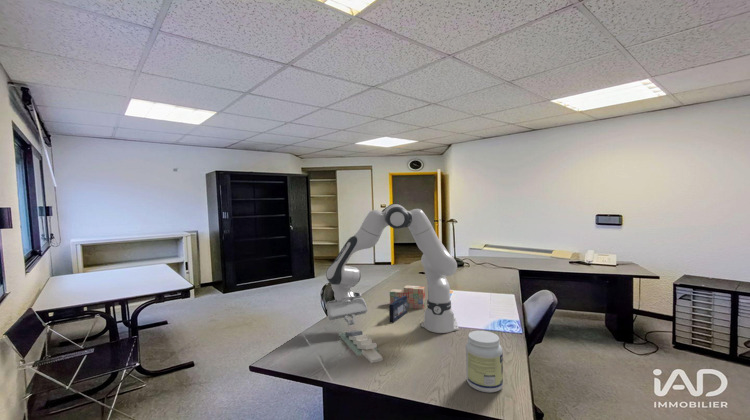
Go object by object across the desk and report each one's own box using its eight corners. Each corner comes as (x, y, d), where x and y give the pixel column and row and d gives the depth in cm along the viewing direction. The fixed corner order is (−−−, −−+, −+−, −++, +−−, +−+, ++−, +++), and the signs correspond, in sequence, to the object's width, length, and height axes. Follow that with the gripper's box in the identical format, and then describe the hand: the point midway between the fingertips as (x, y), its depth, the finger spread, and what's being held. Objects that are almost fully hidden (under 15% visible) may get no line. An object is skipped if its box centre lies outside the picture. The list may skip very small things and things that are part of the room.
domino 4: (357, 344, 140) (365, 345, 132) (367, 342, 142) (376, 343, 134) (357, 348, 140) (365, 349, 131) (367, 346, 142) (376, 347, 133)
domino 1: (345, 332, 154) (352, 333, 145) (354, 330, 156) (362, 330, 147) (345, 335, 153) (352, 336, 145) (355, 333, 156) (362, 334, 147)
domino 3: (352, 340, 145) (360, 341, 136) (362, 338, 147) (371, 338, 138) (353, 344, 144) (361, 345, 136) (363, 342, 146) (371, 342, 138)
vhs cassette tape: (393, 323, 170) (392, 305, 170) (388, 322, 171) (388, 304, 171) (408, 313, 185) (407, 296, 185) (403, 312, 187) (403, 295, 187)
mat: (338, 335, 156) (338, 334, 156) (356, 331, 160) (356, 330, 160) (357, 356, 133) (357, 355, 133) (378, 351, 138) (378, 350, 138)
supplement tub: (509, 393, 105) (508, 343, 105) (472, 394, 105) (471, 344, 105) (495, 374, 117) (494, 328, 117) (462, 374, 117) (461, 329, 117)
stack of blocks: (389, 306, 199) (389, 286, 199) (392, 303, 205) (392, 284, 204) (423, 309, 191) (423, 289, 191) (425, 306, 197) (425, 286, 197)
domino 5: (361, 349, 136) (371, 360, 127) (372, 346, 138) (382, 357, 129) (361, 352, 136) (371, 364, 127) (372, 350, 138) (382, 361, 129)
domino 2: (348, 336, 149) (356, 337, 141) (358, 334, 152) (366, 334, 143) (349, 339, 149) (356, 340, 140) (359, 337, 151) (366, 338, 143)
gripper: (325, 298, 155) (332, 325, 146) (363, 292, 164) (372, 317, 155) (323, 305, 159) (329, 331, 150) (360, 299, 168) (368, 323, 159)
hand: (351, 324), depth 153 cm, fingers closed
